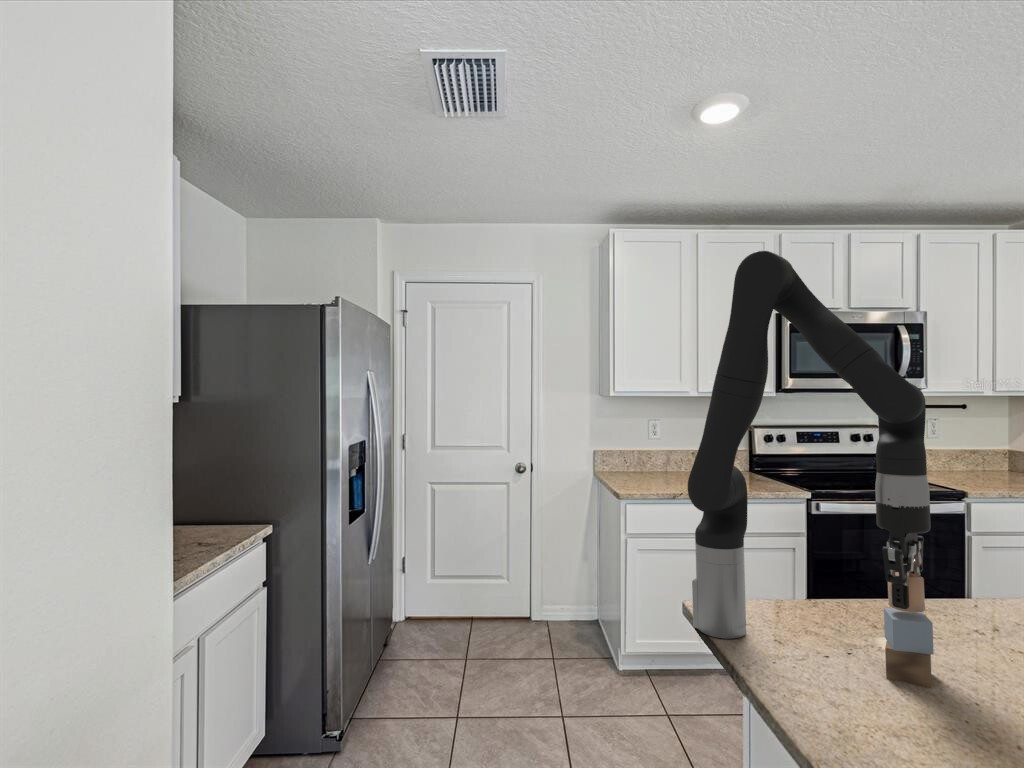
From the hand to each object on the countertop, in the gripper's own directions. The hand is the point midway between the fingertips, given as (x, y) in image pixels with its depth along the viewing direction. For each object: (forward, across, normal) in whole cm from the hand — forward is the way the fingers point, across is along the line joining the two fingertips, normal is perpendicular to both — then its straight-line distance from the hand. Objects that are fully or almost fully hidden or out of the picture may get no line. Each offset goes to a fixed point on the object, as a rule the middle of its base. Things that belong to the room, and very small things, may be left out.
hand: (905, 602), depth 97 cm
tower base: (+12, 0, 0) cm, 12 cm away
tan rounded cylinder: (+1, 0, 0) cm, 1 cm away
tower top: (+7, 0, 0) cm, 7 cm away
